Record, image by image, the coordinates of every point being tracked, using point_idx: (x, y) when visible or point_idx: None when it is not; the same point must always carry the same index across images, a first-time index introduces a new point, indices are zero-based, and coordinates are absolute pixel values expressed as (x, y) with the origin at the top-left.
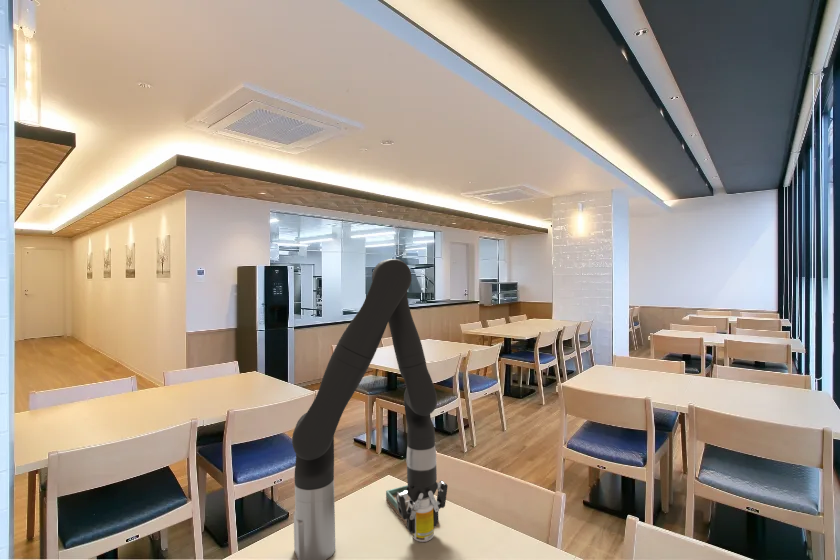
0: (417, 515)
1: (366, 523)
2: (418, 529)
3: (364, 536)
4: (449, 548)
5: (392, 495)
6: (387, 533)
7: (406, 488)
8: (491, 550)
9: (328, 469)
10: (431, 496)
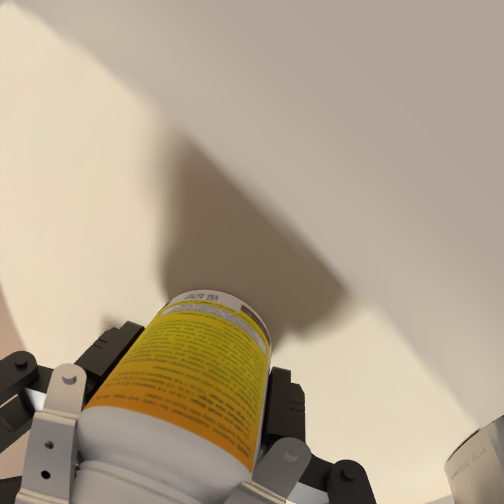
0: (249, 446)
1: None
2: (260, 364)
3: (383, 452)
4: (168, 165)
5: None
6: (320, 433)
7: None
8: (59, 51)
9: None
10: (44, 495)
